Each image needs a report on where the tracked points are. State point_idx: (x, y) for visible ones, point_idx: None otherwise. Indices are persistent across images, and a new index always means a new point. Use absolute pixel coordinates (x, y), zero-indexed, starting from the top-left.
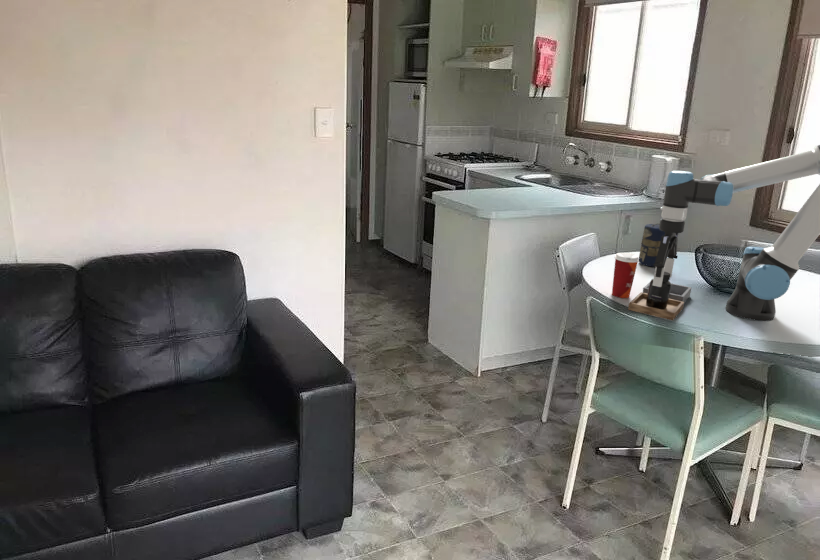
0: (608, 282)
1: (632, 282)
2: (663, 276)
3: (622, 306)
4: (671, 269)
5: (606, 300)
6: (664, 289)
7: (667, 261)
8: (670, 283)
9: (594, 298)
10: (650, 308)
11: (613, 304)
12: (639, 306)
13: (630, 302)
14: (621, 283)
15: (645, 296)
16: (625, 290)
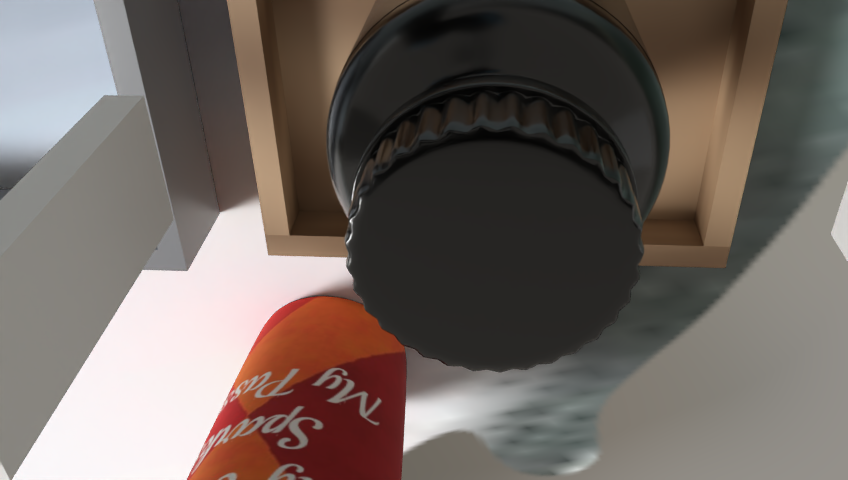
0: (92, 475)
1: (294, 396)
2: (636, 206)
3: (639, 280)
4: (80, 187)
5: (562, 402)
6: (638, 41)
7: (32, 382)
8: (492, 18)
9: (578, 468)
10: (772, 48)
11: (633, 344)
12: (743, 162)
13: (710, 260)
14: (401, 456)
15: (292, 190)
16: (383, 370)
